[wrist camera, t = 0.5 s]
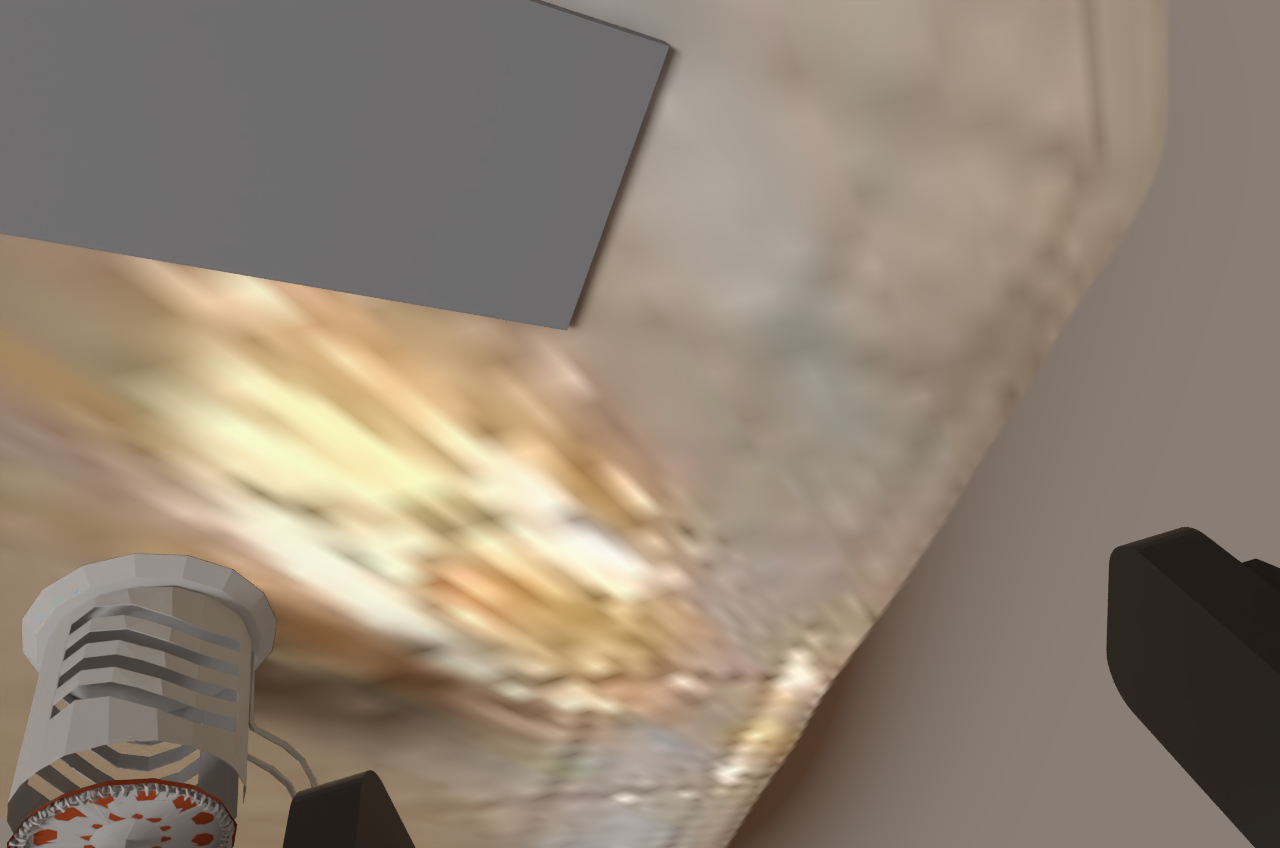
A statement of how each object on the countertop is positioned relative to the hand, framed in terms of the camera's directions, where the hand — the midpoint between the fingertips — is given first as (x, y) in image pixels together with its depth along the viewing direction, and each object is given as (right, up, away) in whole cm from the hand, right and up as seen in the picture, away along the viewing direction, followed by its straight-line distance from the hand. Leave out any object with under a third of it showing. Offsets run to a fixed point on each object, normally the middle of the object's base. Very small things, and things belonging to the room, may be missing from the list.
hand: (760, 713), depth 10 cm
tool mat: (-12, +13, +19) cm, 26 cm away
